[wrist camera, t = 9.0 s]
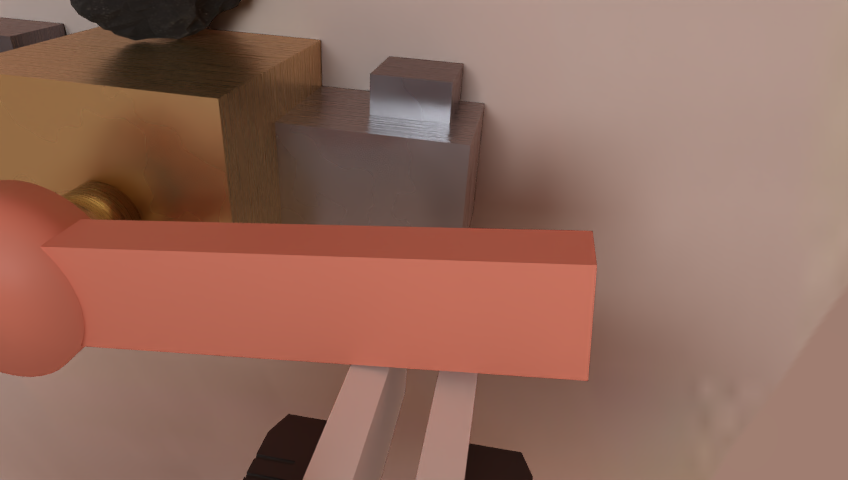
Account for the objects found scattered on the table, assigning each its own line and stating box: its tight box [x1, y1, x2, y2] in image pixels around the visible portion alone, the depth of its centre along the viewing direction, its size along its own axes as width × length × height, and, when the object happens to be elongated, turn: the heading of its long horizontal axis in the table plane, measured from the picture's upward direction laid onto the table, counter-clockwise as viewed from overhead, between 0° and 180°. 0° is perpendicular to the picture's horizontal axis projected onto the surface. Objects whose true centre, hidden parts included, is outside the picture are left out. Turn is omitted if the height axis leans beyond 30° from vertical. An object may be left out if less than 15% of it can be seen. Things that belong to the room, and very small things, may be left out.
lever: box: [0, 180, 597, 381], centre depth 12 cm, size 14×4×2 cm, turn 93°
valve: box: [0, 18, 484, 228], centre depth 18 cm, size 18×7×9 cm, turn 86°
